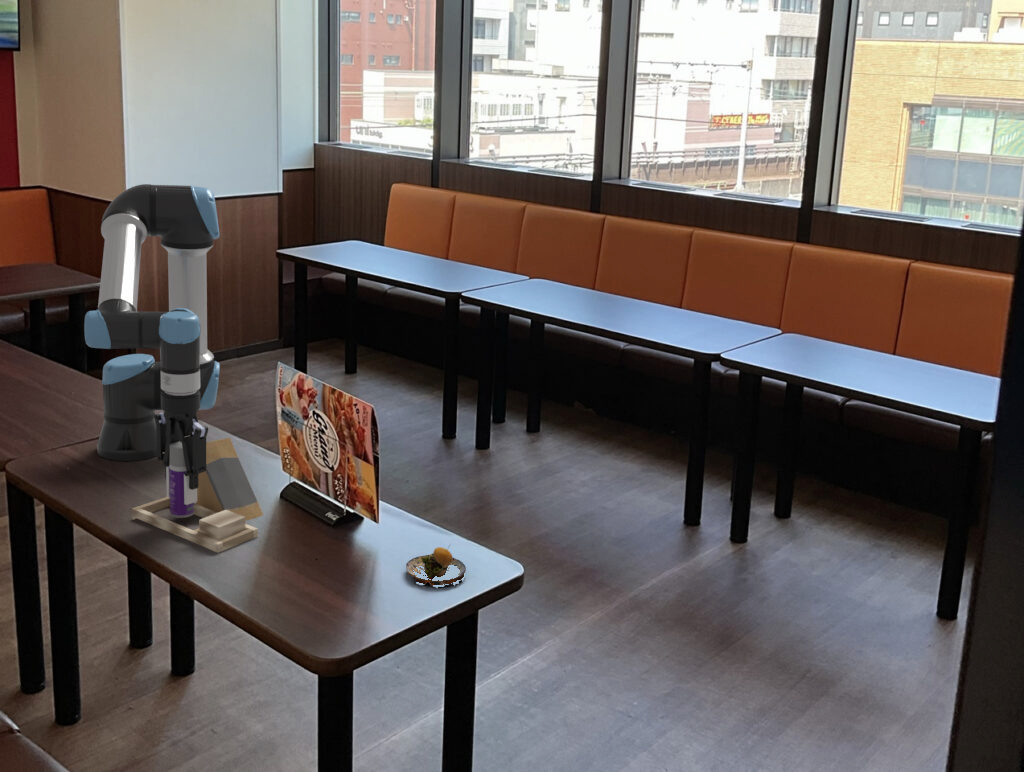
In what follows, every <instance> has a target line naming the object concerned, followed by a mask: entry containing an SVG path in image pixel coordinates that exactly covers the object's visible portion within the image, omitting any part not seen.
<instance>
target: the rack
mask: <svg viewBox="0 0 1024 772" xmlns="http://www.w3.org/2000/svg"><path fill="white" fill-rule="evenodd" d="M167 508H170V498H169V497H167V496H165V497H162V498H160V499H156V500H153V501H150V502H147V503H144V504H141V505H138V506H136V507H132V508H131V519H132V521H133V520H136V519H138V520H140V521H143V522H144V523H147V524H149V525H152V526H154V527H156V528H158V529H161V530H164V531H166V532H168V533H171V534H173V535H175V536H177V537H180V538H182V539H185V540H187V541H189V542H191V543H194V544H196V545H199V546H201V547H203V548H205V549H208V550H211V551H213V552H215V553H218V554H219V553H221V552H223V551H226V550H228V549H230V548H234V547H236V546H238V545H241V544H244V543H245V542H248V541H251V540H253V539H255V538H258V537H259V528H258V527H255V526H252V525H250V524H247V523H245V526H246V530H245V531H242V532H240V533H237V534H235V535H232V536H230V537H227V538H225V539H222V540H220V541H218V540H215V539H213V538H210V537H208V536H206V535H203V534H201V533H199V527H198V528H196V529H191V528H189V527H185V526H184V525H182V524H179V523H176V522H174V521H172V520H169V519H166V518H164V517H162V516H160V515H158V514H155V513H156V512H159V511H161V510H164V509H167ZM216 513H218V512H215V511H213V510H210V509H208V508H205V507H202V506H200V505H198V504H197V503H196V502H194V514H193V515H194V516H197V517H200V518H201V519H203V518H205V517H208V516H210V515H213V514H216Z"/></svg>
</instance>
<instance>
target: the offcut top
mask: <svg viewBox="0 0 1024 772" xmlns="http://www.w3.org/2000/svg"><path fill="white" fill-rule="evenodd" d="M245 524H246V521H245V517H244V516H242V515H239V514H236V513H234V512H231V511H228V510H224V511H221V512H218V513H216V514H213V515H210V516H208V517H205V518H201V519H199V520H198V528H199V529H200V530H203V531H205V532H208V533H210V534H213V535H215V536H218V537H220V536H222V535H225V534H227V533H230V532H232V531H235V530H237V529H239V528H242V527H244V526H245Z"/></svg>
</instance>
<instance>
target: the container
mask: <svg viewBox="0 0 1024 772" xmlns="http://www.w3.org/2000/svg"><path fill="white" fill-rule="evenodd" d="M192 468H193V467H192ZM186 472H187V470H186V464H185V459H184V453H183V447H182V443H181V442H180V441H178V442H175V443H171V444H170V464H169V473H170V507H169V512H170V513H169V514H170V516H171V517H173V518H177V519H179V518H180V519H183V518H185V519H186V518H189V517H191V516H193V515H195V514H194V503H195V502H194V503H191V504H188V505H186V504H184V473H186Z"/></svg>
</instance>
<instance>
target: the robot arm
mask: <svg viewBox="0 0 1024 772" xmlns="http://www.w3.org/2000/svg"><path fill="white" fill-rule="evenodd" d="M216 204H217V203H216V199H215V194H214V192H213V191H212V189H210V188H208V187H203V186H201V187H200V186H197V185H174V184H173V185H172V184H171V185H169V184H167V185H166V184H150V183H148V184H145V183H142V184H138V185H135V186H132V187H130V188H127V189H126V190H124V191H122V192H121V193H119V194H118V195H117V196H116V197H115V198H114V199H113V200H112V201H111V202H110V203H109V205H108V206H107V208H106V210H105V211H104V213H103V215H102V219H101V226H100V233H101V236H102V237H103V239H104V243H103V245H104V246H103V253H102V254H103V256H102V265H101V275H100V285H99V294H98V303H97V304H98V305H97V309H96V310H89V311H87V312H86V314H85V315H84V324H83V325H84V327H83V328H84V329H83V331H84V340H85V344H86V345H87V346H88V347H90V348H93V349H94V348H95V349H107V350H111V349H119V350H120V349H143V350H144V349H149V350H150V349H151V350H153V349H155V350H156V349H157V350H159V355H160V358H159V359H160V361H155V358H154V356H153V355H152V354H145V353H132V354H131V353H130V354H126V355H121V356H120V355H119V356H117V357H115V358H112V359H110V360H108V361H107V362H106V363H104V365H103V367H102V380H101V384H102V392H103V394H102V395H103V424H102V427H101V430H100V432H99V433H100V434H99V438H98V440H97V442H96V451H97V455H99V457H101V458H105V459H107V460H110V461H111V460H112V461H119V462H120V461H121V462H127V461H129V462H131V461H132V462H133V461H141V460H142V461H143V460H146V459H147V460H149V459H151V458H154V457H156V459H157V461H161V462H162V464H163V466H164V477H165V481H166V497H169V498H170V473H169V464H170V444H171V443H175V442H178V441H180V442H181V443H182V447H183V453H184V459H185V464H186V470H187V472H186V473H184V504H186V505H188V504H191V503H197V488H198V486H199V482H198V481H199V478H198V475H199V473H202V472H205V471H206V442H207V436H208V434H209V433H208V432H209V428H208V426H207V425H204V426H202V425H201V424H200V423H199V419H198V415H197V414H198V411H200V410H210V409H212V408H214V406H215V405H216V400H217V394H218V387H219V377H220V372H221V371H220V370H221V368H220V367H221V364H220V363H219V362H218V361H216V360H215V359H214V358H215V356H214V353H212V352H211V351H210V350H209V349H208V306H207V304H208V293H207V291H208V290H207V289H208V283H207V282H208V281H207V279H208V278H207V275H208V274H207V273H208V272H207V268H208V267H207V266H208V265H207V263H208V262H207V261H208V259H207V253H208V252H209V251H210V250H211V249H212V248H214V247H213V246H214V240H217V239H219V238H220V228H219V219H218V212H217V211H218V210H217V205H216ZM147 237H160V246H162V248H164V249H165V251H167V268H168V269H167V270H168V271H167V272H168V276H167V277H168V311H141V310H140V311H138V299H139V286H140V285H139V284H140V282H139V281H140V271H141V256H142V255H141V254H142V244H143V243H144V242H145V240H146V239H147ZM156 411H163V412H160V413H159V412H158V413H156ZM192 467H193V468H192Z"/></svg>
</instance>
